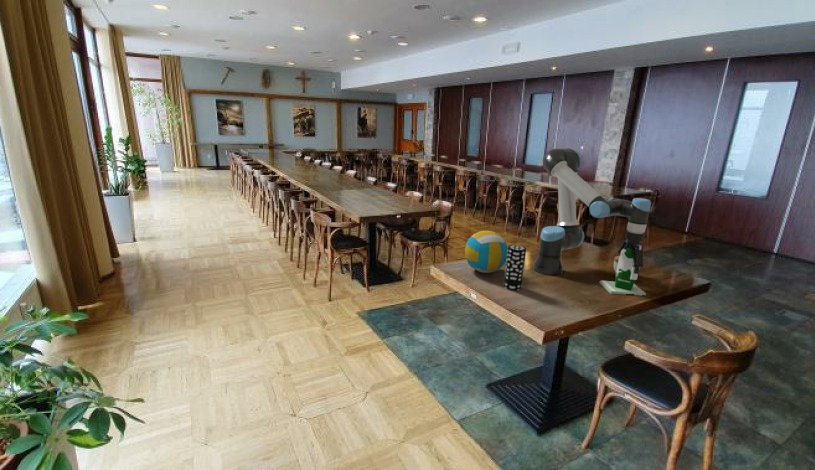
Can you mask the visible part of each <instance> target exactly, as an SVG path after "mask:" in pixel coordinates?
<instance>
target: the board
mask: <svg viewBox="0 0 815 470" xmlns="http://www.w3.org/2000/svg"><path fill="white" fill-rule="evenodd" d="M599 284H600V285H601V286H602V287H603V288H604V289H605V290H606V291H607V292H608V293H609V294H612V295H613V294H614V295H626V294H634V295H633V296H642V295H645V296H646V295H647V294H646V292H645V291H644V290H642V288H640V287H639V286H638V285H637V284H635V283H634V285H633V287H632V290H631V291H630V290H625V289H621V288H617V287H615V281H611V280H610V281H609V280H599Z"/></svg>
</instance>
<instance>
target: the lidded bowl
mask: <svg viewBox="0 0 815 470" xmlns="http://www.w3.org/2000/svg"><path fill="white" fill-rule="evenodd" d="M619 257H620V256H619V255H617V256H614V259H613V270H614V272H615V273H616V271H617V266H618V261H619ZM640 268H641V267H640ZM640 268H639V270H641V269H640Z"/></svg>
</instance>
